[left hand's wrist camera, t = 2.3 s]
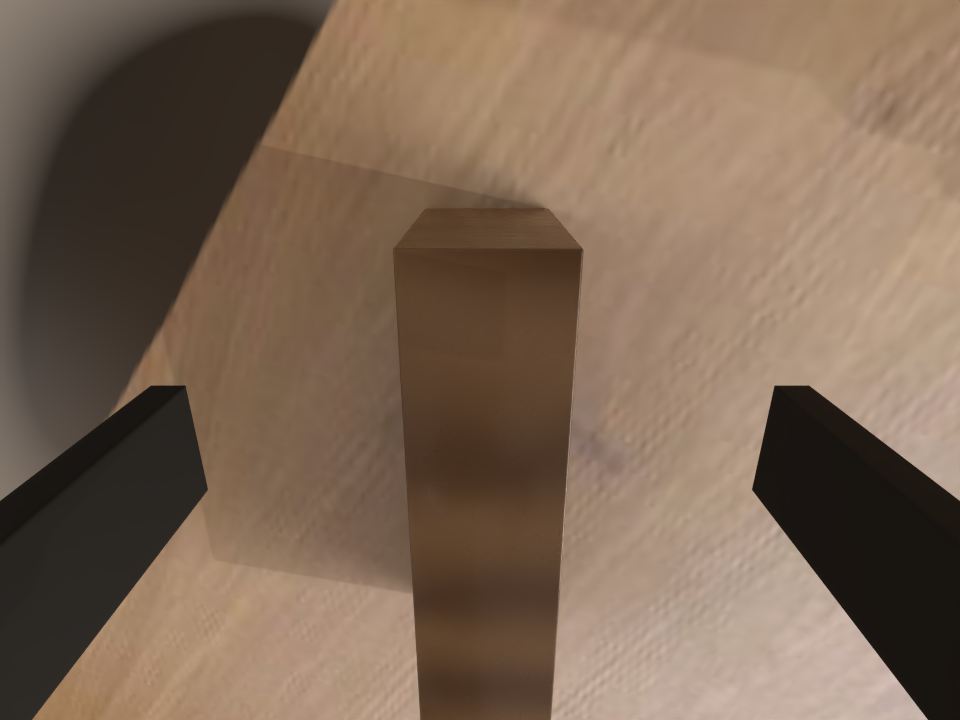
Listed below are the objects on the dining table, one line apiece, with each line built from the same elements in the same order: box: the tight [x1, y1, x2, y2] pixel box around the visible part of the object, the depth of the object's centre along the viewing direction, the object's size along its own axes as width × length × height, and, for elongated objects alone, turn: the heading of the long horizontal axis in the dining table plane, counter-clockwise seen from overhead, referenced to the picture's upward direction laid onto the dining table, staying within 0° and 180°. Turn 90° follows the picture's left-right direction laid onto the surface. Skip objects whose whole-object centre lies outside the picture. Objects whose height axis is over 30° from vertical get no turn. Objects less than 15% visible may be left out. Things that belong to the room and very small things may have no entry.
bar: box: [393, 209, 583, 720], centre depth 24 cm, size 22×5×9 cm, turn 0°
